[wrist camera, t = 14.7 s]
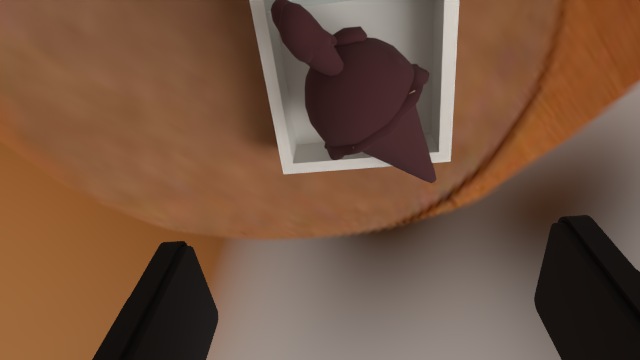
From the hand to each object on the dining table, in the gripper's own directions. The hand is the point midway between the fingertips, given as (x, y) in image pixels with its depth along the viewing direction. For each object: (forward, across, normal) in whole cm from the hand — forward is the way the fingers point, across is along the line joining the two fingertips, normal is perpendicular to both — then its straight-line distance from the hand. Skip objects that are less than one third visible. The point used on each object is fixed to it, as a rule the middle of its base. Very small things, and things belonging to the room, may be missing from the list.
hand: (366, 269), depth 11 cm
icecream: (+18, 0, 0) cm, 18 cm away
